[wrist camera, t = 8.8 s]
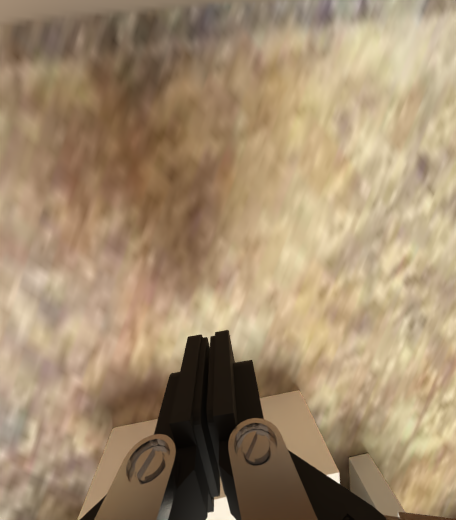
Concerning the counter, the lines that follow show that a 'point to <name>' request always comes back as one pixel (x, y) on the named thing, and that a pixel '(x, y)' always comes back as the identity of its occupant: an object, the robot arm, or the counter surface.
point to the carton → (296, 439)
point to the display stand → (372, 485)
